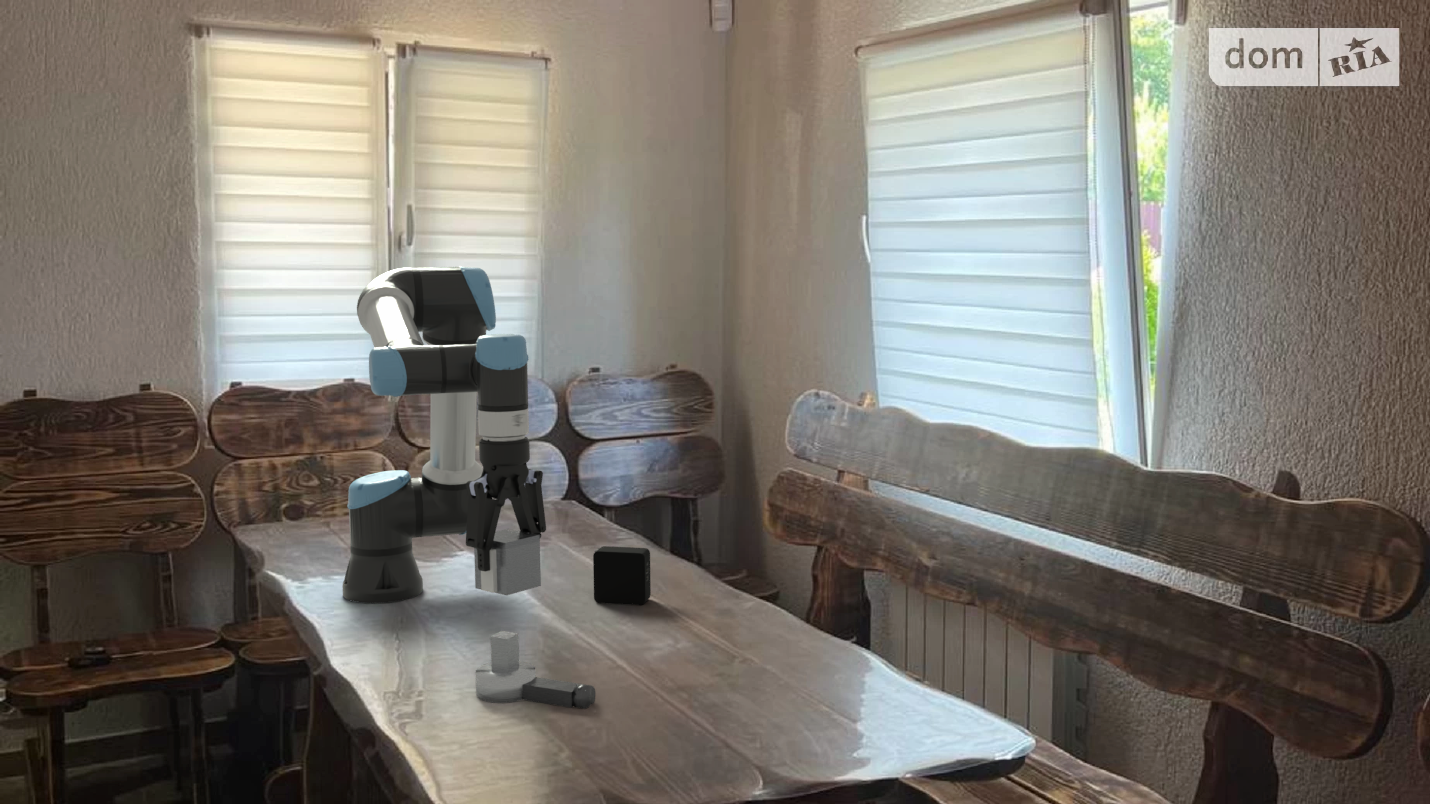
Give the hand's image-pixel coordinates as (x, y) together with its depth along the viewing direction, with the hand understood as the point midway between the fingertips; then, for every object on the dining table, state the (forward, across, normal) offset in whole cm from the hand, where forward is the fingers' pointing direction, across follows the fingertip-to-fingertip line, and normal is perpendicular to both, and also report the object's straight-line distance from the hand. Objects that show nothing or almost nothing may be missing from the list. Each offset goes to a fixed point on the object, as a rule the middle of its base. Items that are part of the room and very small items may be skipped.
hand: (508, 585), depth 200 cm
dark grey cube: (0, 0, 0) cm, 0 cm away
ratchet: (+17, -1, -6) cm, 18 cm away
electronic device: (+16, +45, +17) cm, 51 cm away
